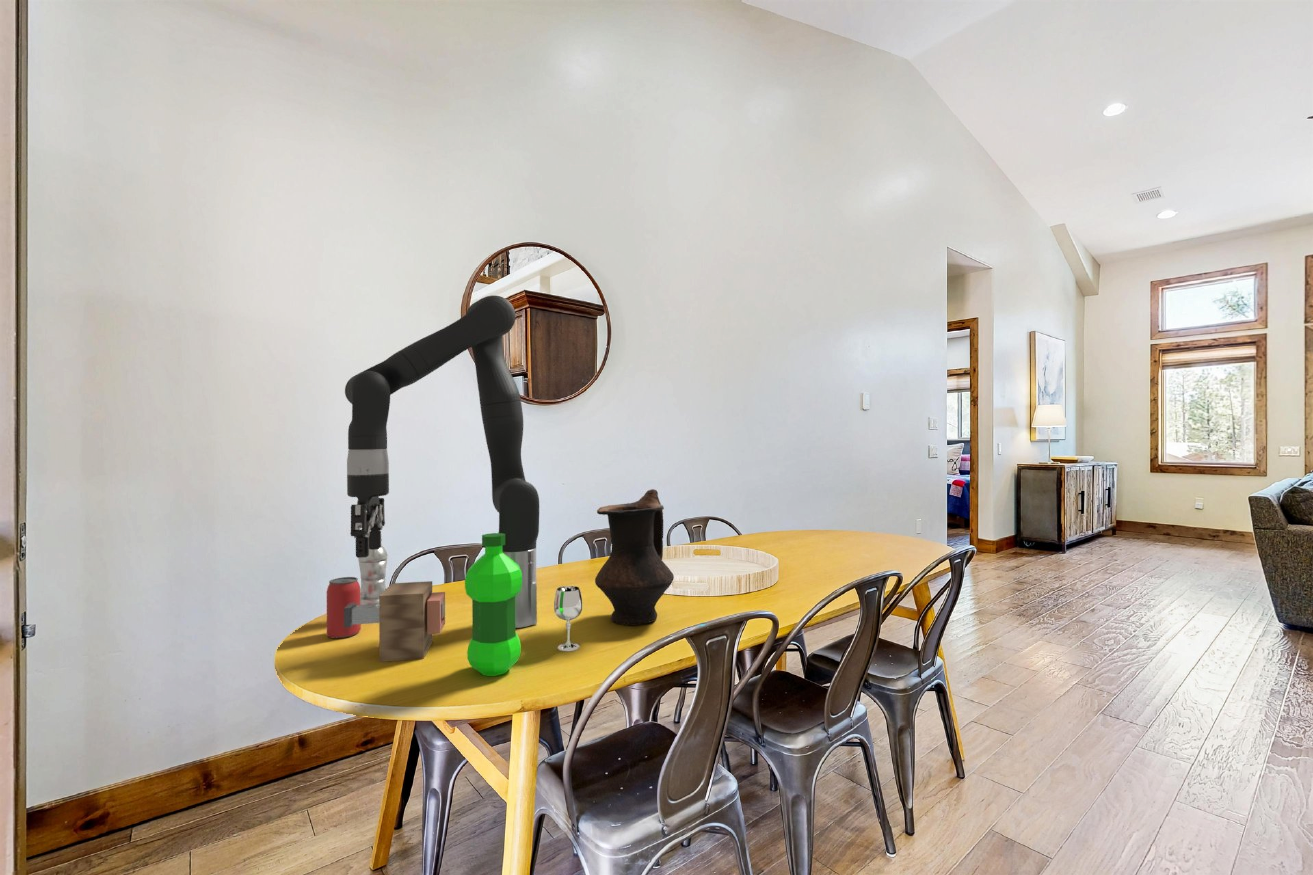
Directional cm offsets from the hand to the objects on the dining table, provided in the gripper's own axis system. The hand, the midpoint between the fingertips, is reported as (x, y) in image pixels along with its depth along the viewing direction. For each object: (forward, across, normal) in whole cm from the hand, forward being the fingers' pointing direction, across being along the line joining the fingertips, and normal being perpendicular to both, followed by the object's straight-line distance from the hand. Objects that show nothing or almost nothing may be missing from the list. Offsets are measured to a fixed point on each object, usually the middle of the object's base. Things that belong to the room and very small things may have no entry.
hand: (369, 552), depth 117 cm
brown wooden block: (+20, 0, -7) cm, 21 cm away
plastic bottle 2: (+20, -14, -25) cm, 35 cm away
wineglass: (+20, -5, -39) cm, 44 cm away
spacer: (+16, 0, -13) cm, 20 cm away
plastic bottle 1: (+20, +26, +6) cm, 33 cm away
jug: (+20, +11, -56) cm, 61 cm away
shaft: (+14, 0, -5) cm, 15 cm away
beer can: (+20, +14, +9) cm, 26 cm away
